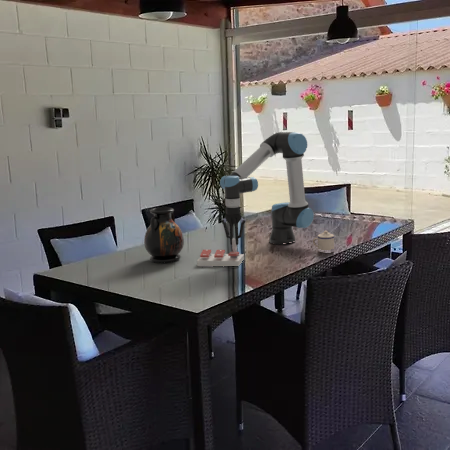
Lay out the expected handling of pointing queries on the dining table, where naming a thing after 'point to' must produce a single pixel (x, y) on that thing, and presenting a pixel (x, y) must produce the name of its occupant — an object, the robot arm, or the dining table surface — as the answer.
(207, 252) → the rocker
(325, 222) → the dining table surface
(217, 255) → the rocker
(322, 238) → the teacup with lid
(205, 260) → the power strip
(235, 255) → the rocker
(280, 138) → the robot arm
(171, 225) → the amphora vase
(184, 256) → the dining table surface
